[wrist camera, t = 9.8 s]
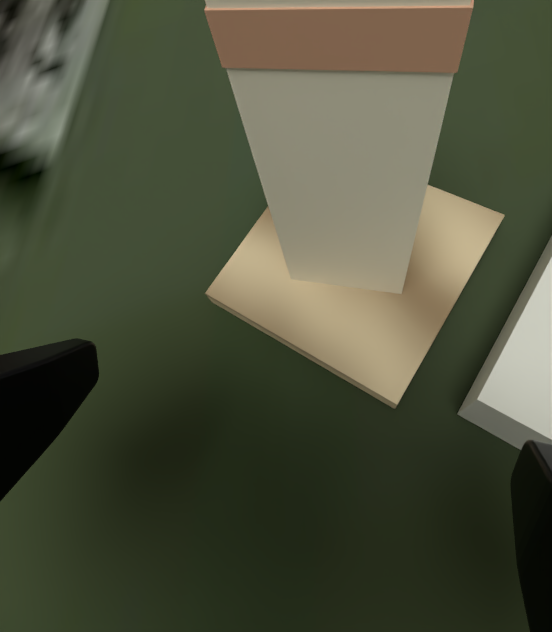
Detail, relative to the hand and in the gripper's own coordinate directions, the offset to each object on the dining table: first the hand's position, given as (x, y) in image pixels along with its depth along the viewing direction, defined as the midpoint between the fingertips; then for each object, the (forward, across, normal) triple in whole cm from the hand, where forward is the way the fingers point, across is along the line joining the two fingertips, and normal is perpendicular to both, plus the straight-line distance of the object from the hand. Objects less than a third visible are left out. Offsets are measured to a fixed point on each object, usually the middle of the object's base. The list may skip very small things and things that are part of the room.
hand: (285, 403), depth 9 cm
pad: (+12, 0, +1) cm, 12 cm away
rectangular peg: (+11, 0, 0) cm, 11 cm away
